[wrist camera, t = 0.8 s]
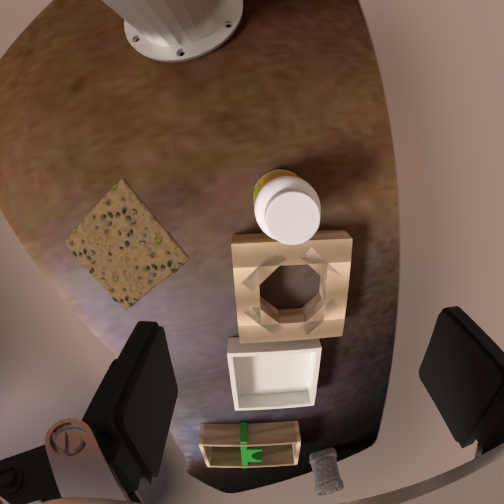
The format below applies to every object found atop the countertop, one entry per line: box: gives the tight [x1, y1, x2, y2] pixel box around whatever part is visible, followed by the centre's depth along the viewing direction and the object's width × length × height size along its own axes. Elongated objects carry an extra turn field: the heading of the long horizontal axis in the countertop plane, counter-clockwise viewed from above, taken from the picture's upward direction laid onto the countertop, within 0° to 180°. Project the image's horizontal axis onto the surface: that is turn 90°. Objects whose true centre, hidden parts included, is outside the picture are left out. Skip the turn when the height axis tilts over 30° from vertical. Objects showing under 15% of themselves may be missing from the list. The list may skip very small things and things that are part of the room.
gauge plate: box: [231, 230, 353, 343], centre depth 32 cm, size 12×12×3 cm
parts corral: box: [199, 421, 301, 468], centre depth 42 cm, size 9×16×4 cm, turn 93°
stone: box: [310, 447, 344, 495], centre depth 43 cm, size 3×6×10 cm, turn 113°
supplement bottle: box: [253, 169, 321, 245], centre depth 25 cm, size 5×5×10 cm
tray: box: [227, 337, 322, 410], centre depth 36 cm, size 11×11×3 cm
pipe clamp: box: [240, 422, 262, 466], centre depth 42 cm, size 10×4×4 cm, turn 0°
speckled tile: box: [66, 178, 190, 310], centre depth 31 cm, size 12×12×1 cm
